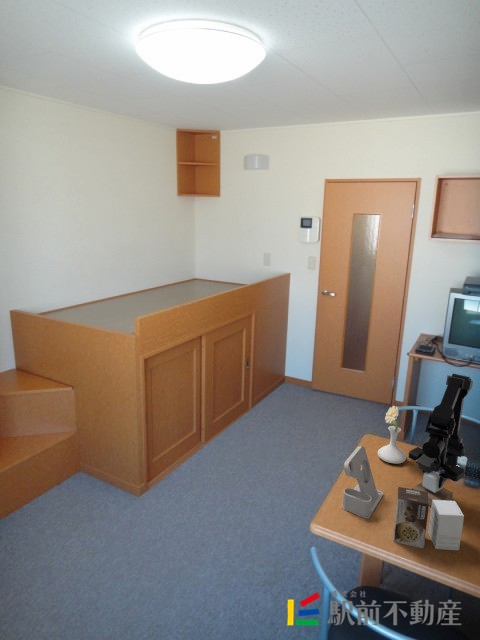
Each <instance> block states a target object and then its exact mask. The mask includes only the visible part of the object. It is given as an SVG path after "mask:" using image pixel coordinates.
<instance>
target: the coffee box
mask: <svg viewBox="0 0 480 640" xmlns="http://www.w3.org/2000/svg"><path fill="white" fill-rule="evenodd" d="M396 497H397V498H396V507H395V514H394V515H395V516H394V518H395V519H394V525H393V526H394V527H393V543H398V544H400V545H401V544H403V545H407V546H411V547H415V548H419V549H425V542H426V533H427V526H428V517H429V516H428V515H429V508H430V506H429V498H428V492H425V491H419V490H414V489H412V488H407V487H401V486H398V487H397V495H396Z"/></svg>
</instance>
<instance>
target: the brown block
mask: <svg viewBox="0 0 480 640" xmlns="http://www.w3.org/2000/svg"><path fill="white" fill-rule="evenodd" d="M422 483H423V481H421V482H420V483H418V484H416V485H414V486H413V487H411V489H414V490H419V491H425V492H428V498H429V508H431V507H432V500H446V501H453V494H454V493H453V492H452V491H451V490H449V489H446V488H445V487H443V488H442V489H440V490H439V491H437V492H435V493H434V492H432V491H431V490H429V489H427V488H425V487H423V486H422Z"/></svg>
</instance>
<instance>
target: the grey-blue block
mask: <svg viewBox="0 0 480 640" xmlns="http://www.w3.org/2000/svg"><path fill="white" fill-rule="evenodd" d="M440 473H441V472H439V471H437V472H435V471H433V472H431V473H427V472H426V473H424V475H423V474H422V475H423V477H422V482H423V483H422V486H423V487H425V488H427V489H429V490H431V491H432V492H434V493H435V492H437V491H439V490H440V489H442V488H444V485H443V486H442V487H441V488H440V489H439V480H440V476H439V474H440Z"/></svg>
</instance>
